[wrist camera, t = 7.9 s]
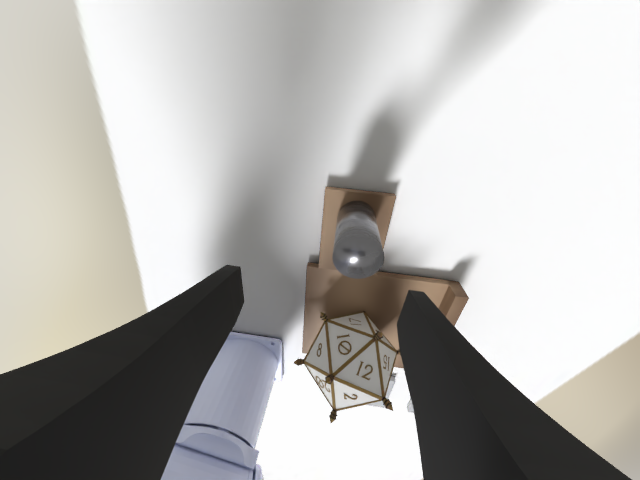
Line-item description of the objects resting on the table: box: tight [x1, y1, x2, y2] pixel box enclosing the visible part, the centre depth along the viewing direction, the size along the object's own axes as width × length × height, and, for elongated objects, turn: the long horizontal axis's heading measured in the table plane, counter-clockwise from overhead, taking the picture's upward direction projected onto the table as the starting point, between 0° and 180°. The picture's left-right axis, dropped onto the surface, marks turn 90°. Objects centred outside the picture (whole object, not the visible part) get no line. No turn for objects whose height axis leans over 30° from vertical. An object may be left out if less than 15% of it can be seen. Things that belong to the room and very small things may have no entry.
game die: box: [294, 311, 401, 423], centre depth 20 cm, size 9×8×10 cm
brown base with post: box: [302, 187, 469, 368], centre depth 19 cm, size 13×19×6 cm
